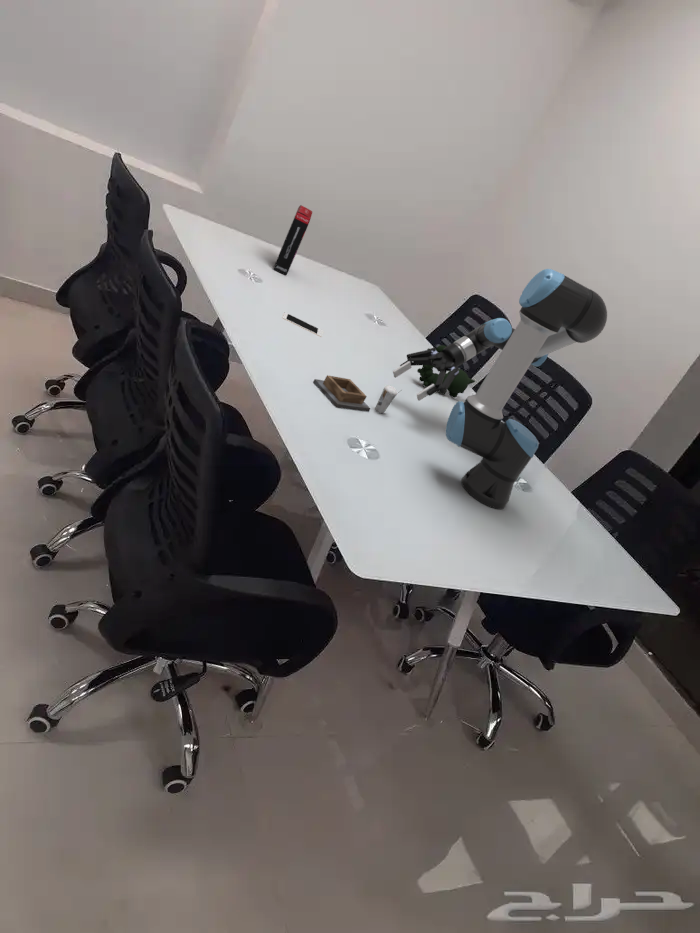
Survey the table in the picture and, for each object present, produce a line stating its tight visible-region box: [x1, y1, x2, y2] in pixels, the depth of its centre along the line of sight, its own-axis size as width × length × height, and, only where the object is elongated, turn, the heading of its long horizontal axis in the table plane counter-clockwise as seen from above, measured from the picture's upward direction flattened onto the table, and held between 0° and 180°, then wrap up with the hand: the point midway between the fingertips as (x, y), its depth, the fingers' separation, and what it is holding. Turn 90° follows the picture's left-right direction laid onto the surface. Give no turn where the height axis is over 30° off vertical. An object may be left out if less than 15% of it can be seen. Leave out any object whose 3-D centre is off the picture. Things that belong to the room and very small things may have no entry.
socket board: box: [313, 374, 371, 412], centre depth 226 cm, size 14×14×4 cm
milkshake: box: [374, 384, 403, 415], centre depth 230 cm, size 5×5×10 cm
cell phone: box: [282, 312, 324, 338], centre depth 269 cm, size 8×16×1 cm, turn 89°
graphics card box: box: [273, 204, 313, 276], centre depth 314 cm, size 17×7×27 cm, turn 1°
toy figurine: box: [417, 344, 476, 398], centre depth 275 cm, size 9×19×25 cm
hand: (405, 385), depth 232 cm, fingers open, 13 cm apart
